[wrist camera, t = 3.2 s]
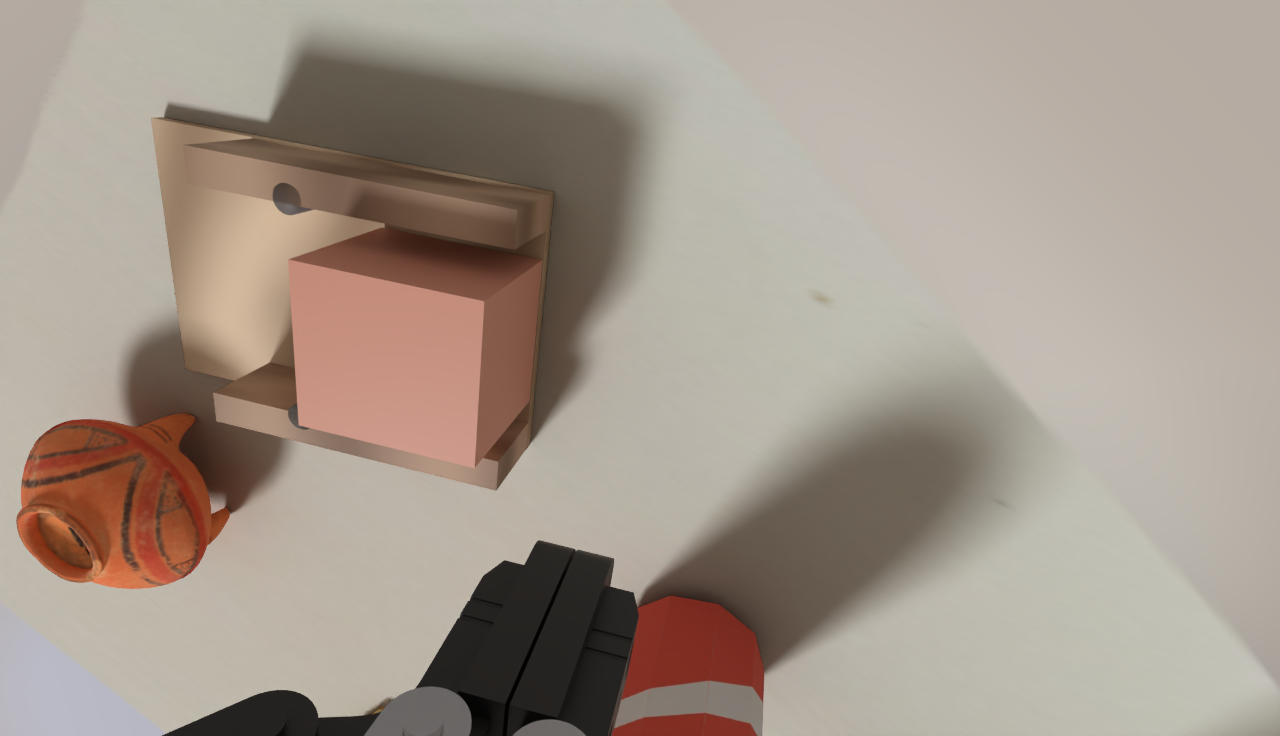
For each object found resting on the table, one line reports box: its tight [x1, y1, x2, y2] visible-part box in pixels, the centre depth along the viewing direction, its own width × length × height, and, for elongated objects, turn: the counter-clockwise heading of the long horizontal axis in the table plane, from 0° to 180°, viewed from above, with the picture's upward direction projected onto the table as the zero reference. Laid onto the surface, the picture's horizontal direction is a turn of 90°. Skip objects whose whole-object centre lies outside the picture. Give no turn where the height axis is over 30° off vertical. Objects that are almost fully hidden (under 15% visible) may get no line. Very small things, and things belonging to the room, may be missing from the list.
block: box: [288, 227, 543, 468], centre depth 22 cm, size 6×6×5 cm
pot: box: [16, 413, 230, 589], centre depth 29 cm, size 8×8×7 cm
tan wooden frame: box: [151, 117, 554, 490], centre depth 24 cm, size 15×10×4 cm, turn 81°
